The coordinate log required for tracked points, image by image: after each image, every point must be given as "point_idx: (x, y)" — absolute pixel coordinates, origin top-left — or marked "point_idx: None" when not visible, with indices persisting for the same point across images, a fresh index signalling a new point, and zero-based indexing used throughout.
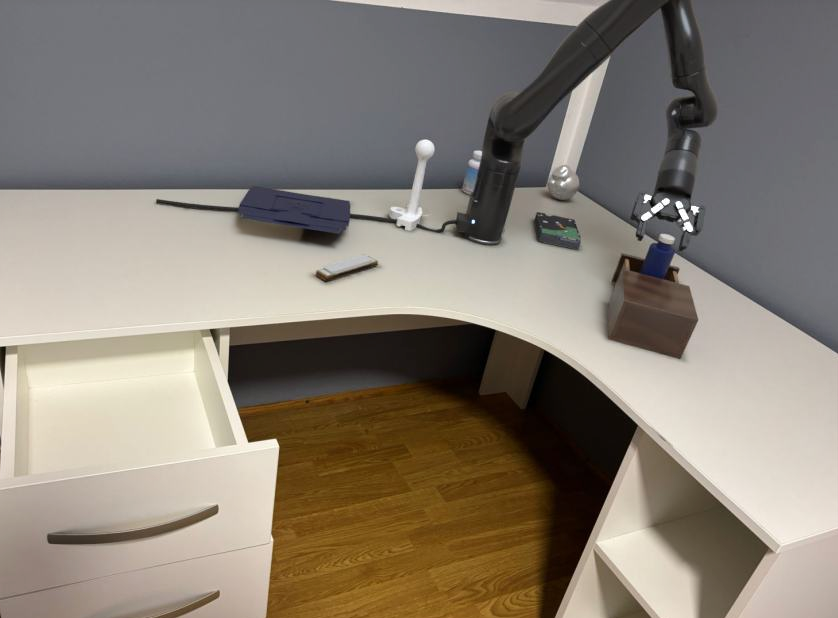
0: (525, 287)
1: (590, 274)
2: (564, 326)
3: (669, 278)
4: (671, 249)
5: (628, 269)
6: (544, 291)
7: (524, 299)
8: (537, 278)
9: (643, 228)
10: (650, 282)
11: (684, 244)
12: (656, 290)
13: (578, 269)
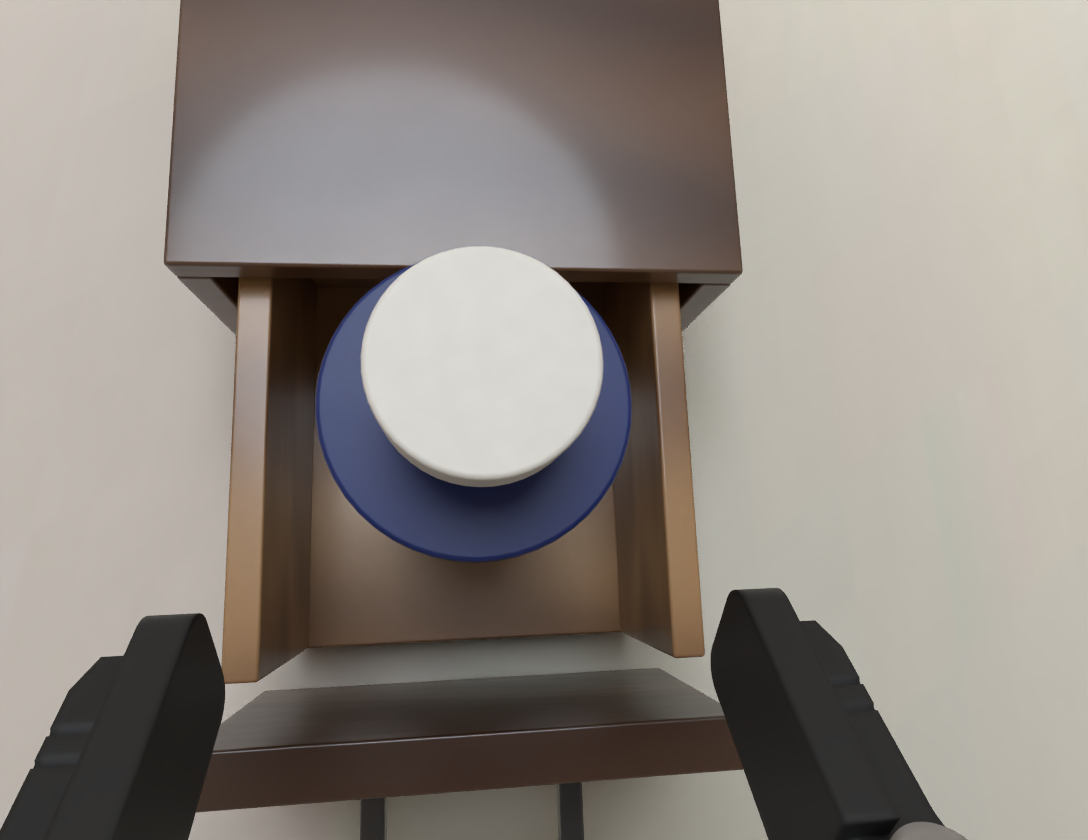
0: (1068, 309)
1: None
2: (827, 11)
3: (270, 720)
4: (364, 421)
5: (668, 414)
6: (979, 322)
7: (1038, 174)
8: (1046, 466)
9: (815, 690)
10: (516, 134)
11: (147, 642)
12: (474, 14)
13: None
